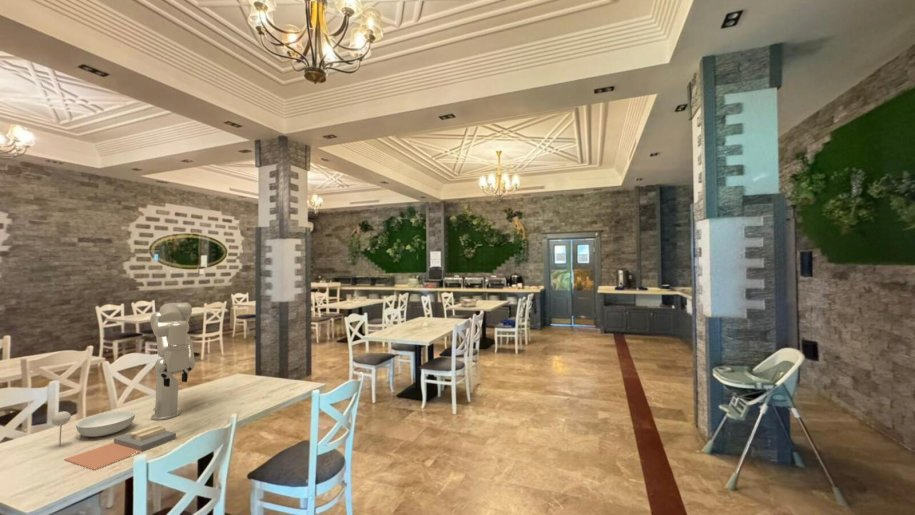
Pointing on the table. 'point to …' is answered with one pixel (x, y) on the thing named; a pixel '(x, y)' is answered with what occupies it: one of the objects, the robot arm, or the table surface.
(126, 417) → the serving bowl
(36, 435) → the table surface
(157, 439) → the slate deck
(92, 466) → the rust mat
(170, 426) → the table surface
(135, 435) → the slatted wooden pallet
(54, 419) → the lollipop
